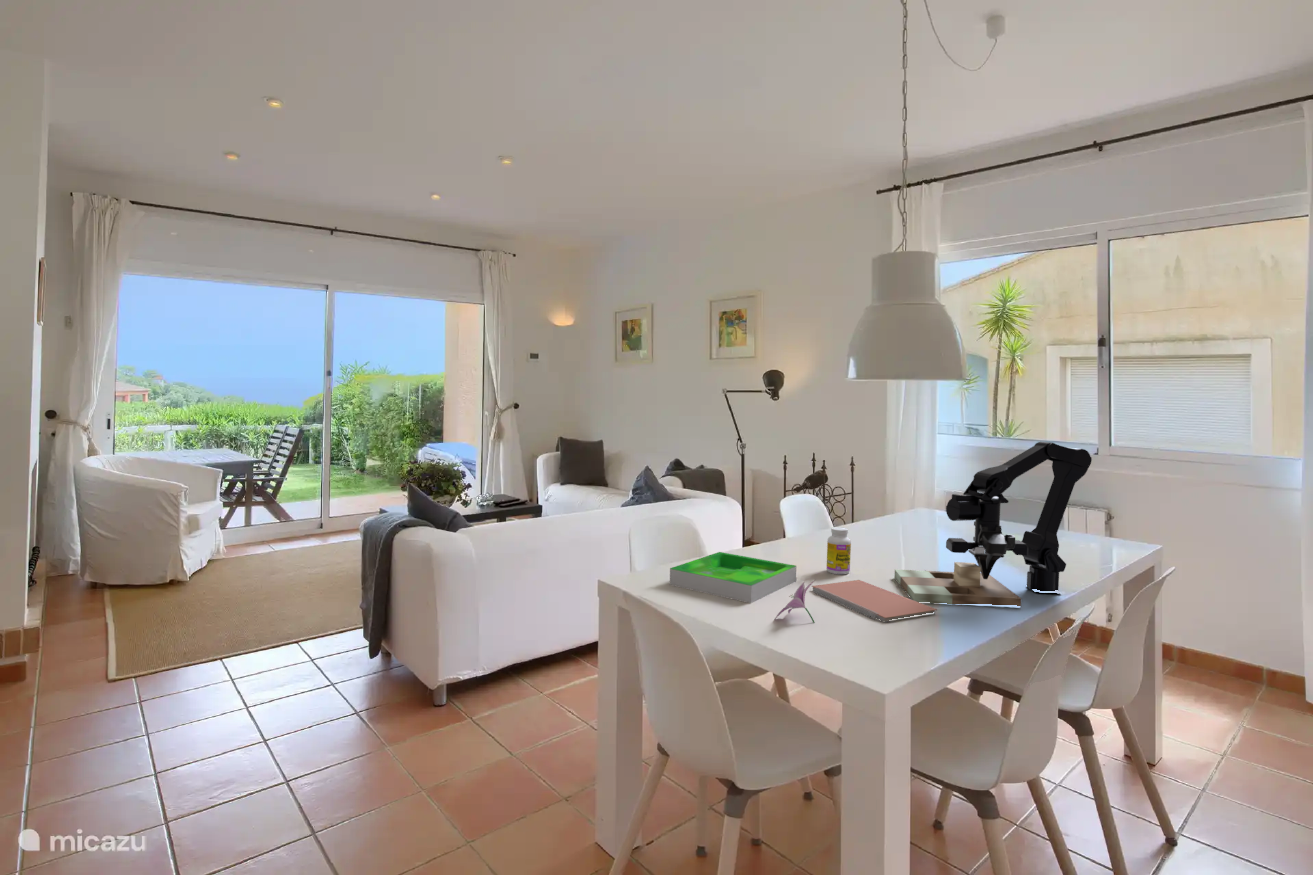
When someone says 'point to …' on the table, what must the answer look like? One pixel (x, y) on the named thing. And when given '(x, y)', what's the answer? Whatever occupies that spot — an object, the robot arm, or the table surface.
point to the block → (967, 574)
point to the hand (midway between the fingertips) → (985, 578)
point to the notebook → (872, 600)
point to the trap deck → (953, 589)
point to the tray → (733, 576)
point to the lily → (797, 600)
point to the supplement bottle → (838, 551)
